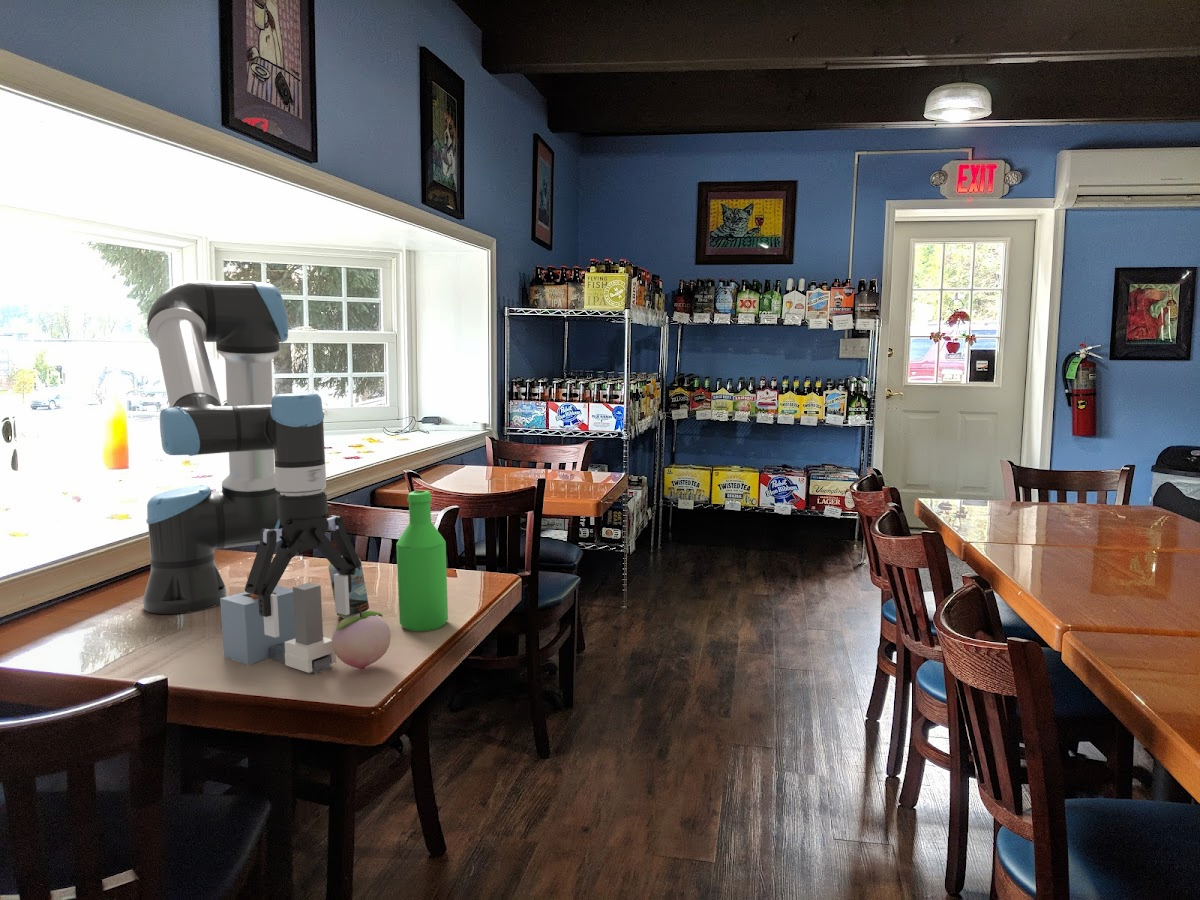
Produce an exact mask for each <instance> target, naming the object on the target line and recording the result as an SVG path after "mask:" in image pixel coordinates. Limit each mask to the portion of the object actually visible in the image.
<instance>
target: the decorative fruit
mask: <svg viewBox="0 0 1200 900" xmlns="http://www.w3.org/2000/svg"><path fill="white" fill-rule="evenodd" d="M359 610H360V614H358V615H356V616H353V617H347V618H342V620H341V621H340V622H339V623H338V625H337V627H336V628H335V630H334V631H333V634H332V637H331V639H332V647H333V650H334V652H335V654H336V657H337V658H338V659H339V660H340V661H341V662H343V663H344V664H345V665H347V666H349V667H352V668H355V669H358V670H362V671H364V670H365V668H367V667H368V666H370V665H372V664H374V663H375V662H377V661H378V660H380V659H381V658H382V657H384V656H385V654H386V653H387V651H388V649H389V647H390V644H391V638H392V636H391V629H390V626H389V625H388V623H387V622H386V620H384V619H383V618H381V617H383V614H382V613H381V612H379V611H377V610H376V611H375V610H366V612H363V613H362V609H361V608H360V609H359Z"/></svg>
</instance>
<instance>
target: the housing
mask: <svg viewBox="0 0 1200 900" xmlns="http://www.w3.org/2000/svg"><path fill="white" fill-rule="evenodd" d="M272 594H275V595H277V603H278V620H279V637H271V636H268V635H265V633H264V616H260V614H259V605H258V599H253V598H250V593H247V592H245V591H243V592H240V593H236V594H232V595H226V596H227V597H223V598H220V604H219V605H220V616H221V617H220V618H221V630H222V631H221V634H222V645H223V647H222V648H223V649H222V650H223V657H224V658H227V659H230V660H233V661H236V662H239V663H242V664H245V665H247V666H249V665H252V664H255V663H259V662H261V661H264V660H267V659H269V647H271V646H275V645H278V644H281V643H284V642H286V641H289V640H292V639H295V620H294V602H293V588H289V587H284V586H281V585H279V584H277V585H276V587H275V589H274V591H273V592H272Z"/></svg>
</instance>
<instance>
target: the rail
mask: <svg viewBox="0 0 1200 900" xmlns="http://www.w3.org/2000/svg"><path fill="white" fill-rule="evenodd" d="M270 659H271V661H275V662H277V663H280V664H283V665H285V642H284V643H281V644H278V645H275V646H271V647H269V658H268V660H270ZM330 669H331V663H330V656H327V655H325V656H322V657H320V658H317V659H314V660H312V672H309V673H310V674H312V675H317V674H319V673H321V672H324V671H327V670H330Z"/></svg>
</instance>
